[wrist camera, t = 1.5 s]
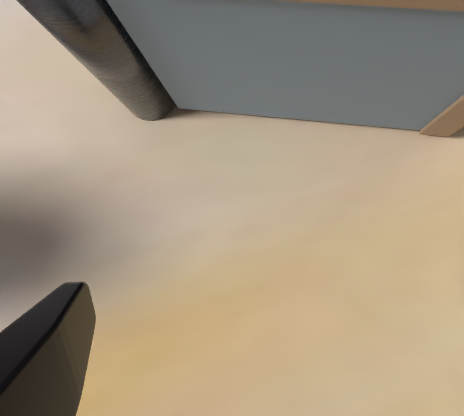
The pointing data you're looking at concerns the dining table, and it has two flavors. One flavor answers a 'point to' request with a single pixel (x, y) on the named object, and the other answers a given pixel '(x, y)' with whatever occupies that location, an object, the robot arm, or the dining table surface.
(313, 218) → the dining table surface
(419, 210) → the dining table surface
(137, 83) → the hinge post
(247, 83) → the gate
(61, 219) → the dining table surface
